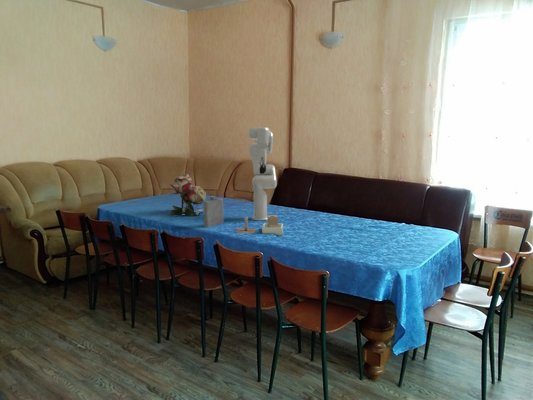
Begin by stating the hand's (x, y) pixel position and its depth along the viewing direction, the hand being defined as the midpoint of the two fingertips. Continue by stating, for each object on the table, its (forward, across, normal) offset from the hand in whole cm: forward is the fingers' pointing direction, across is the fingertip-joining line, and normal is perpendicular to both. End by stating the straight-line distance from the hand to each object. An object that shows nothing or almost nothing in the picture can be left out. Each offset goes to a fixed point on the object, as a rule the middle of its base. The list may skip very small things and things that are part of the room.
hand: (262, 172), depth 288 cm
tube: (+35, +19, +8) cm, 41 cm away
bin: (+36, +19, +8) cm, 42 cm away
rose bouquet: (+37, -40, -62) cm, 82 cm away
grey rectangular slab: (+36, 0, -34) cm, 50 cm away
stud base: (+36, +19, -9) cm, 42 cm away
